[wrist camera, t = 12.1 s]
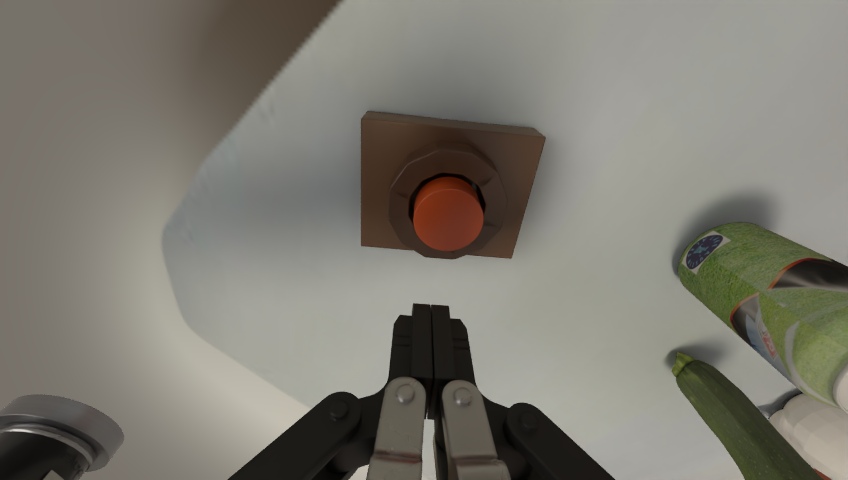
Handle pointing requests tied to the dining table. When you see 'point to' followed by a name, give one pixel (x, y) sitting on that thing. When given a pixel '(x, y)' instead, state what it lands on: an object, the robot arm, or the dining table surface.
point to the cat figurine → (816, 434)
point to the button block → (444, 157)
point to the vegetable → (739, 424)
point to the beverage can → (777, 303)
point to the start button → (447, 214)
